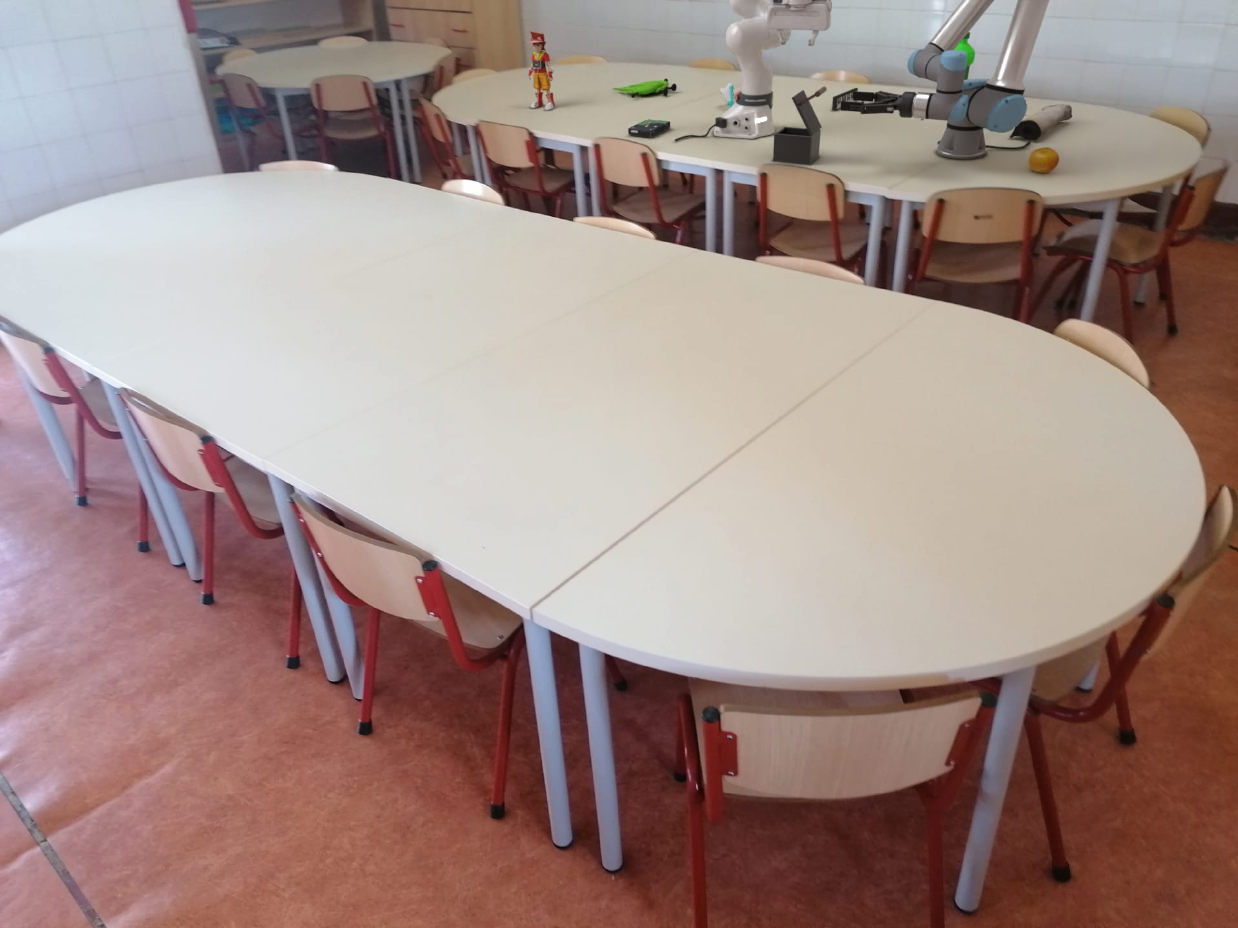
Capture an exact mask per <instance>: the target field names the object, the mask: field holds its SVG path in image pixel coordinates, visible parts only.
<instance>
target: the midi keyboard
mask: <svg viewBox="0 0 1238 928" xmlns="http://www.w3.org/2000/svg"><path fill="white" fill-rule="evenodd" d="M858 90H859V88H858V87H854V88H852V89H849V90H846V91H844V92H842V93H839V94H837V95H833V96H832V101H831V102H832V104H831V111H837V110H838V109H840V107H841V101H849V102H856V101H853V94H854V91H858Z"/></svg>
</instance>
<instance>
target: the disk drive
mask: <svg viewBox="0 0 1238 928" xmlns="http://www.w3.org/2000/svg"><path fill="white" fill-rule="evenodd" d="M670 128H671V121H669V120H661V119H650V118H649V119H645V120H642V121H641V122H638V123H637V124H635V125H632V126H630V127H628V128H627V135H628V136H633V137H641V138H653V137H655V136H658V135H660V134H661V133H663V132H665V131H667V130H669V129H670Z"/></svg>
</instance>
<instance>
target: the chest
mask: <svg viewBox="0 0 1238 928" xmlns="http://www.w3.org/2000/svg"><path fill="white" fill-rule="evenodd" d="M821 132H822V130H821V129H819V130H818V131H817V132H816V133H814V134H813V135H812V136H810V134H809V132H808V130H807V128H806V127H792V126H783V127H781V128H780V129H779V130H778V131H775V132H774V133H773V151H772V152H773V153H772V162H777V163H786V164H799V165H810V166H811V164H813V162H814V161H816V160H817V159H818V158H819V157H820V145H821V134H822V133H821Z"/></svg>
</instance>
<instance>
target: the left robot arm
mask: <svg viewBox="0 0 1238 928" xmlns="http://www.w3.org/2000/svg"><path fill="white" fill-rule="evenodd" d="M728 3H729V6H730V8H731V10H732V11H733V12H734V13H735V14H736V15H739V16H740V17H742V18H743V19H740V20H737V21H735V22H733V23H731V24H730V25H729V26H728V28H727V30H726V32H725V43H726V47H727V48H728V50H729V51H730V52H731V53H732V54H733V55H734V56H735V57H736V59H737V61H738V63H739V67H740V73H741V74H740V75H741V91H739V90H737V91H736V92H737V93H736V92H735V93H736V103H735V104H734V105H733V106H732V107H730V106H729V108H727V110H726V111H724V113H722V114H721V116H717V117H715V123H714V124H713V125H711V126H710V127H709V128H708V130H707V132H706V133H705V134H703V135H698V134H697V135H696V134H686V135H683V136H680V137H677V138H675V139H674V142H677V141H681V140H683V139H686V138H706V137H707V136H708V135H709V134H710V132H711V130H712V129H713V128H714V130H713V135H714V136H715V137H721V138H722V137H723V138H736V139H737V138H738V139H750V140H753V139H754V140H755V139H758V138H761V137H766V136H770V135H774V134H775V133H776V131H775V127H774V120H773V107H774V91H773V77H774V76H773V75H774V71H773V68H772V67H771V65H770V64H769V63H768V62H766V61H764V59H763V58H764V57H763V51H766V50H772V49H776V48H778V47H781V46H785V45H787V43H788V42H789V40H790V37H791V34H792V31H811V32H812V33H811V34H812V38H810V39H808V44H807V46H808V47H815V41H816V39H817V37H818V35H819V34H820V32H826V31H827V30H829V28H830V27H831V24H832V18H831V17H832V15H831V14H832V13H831V12H832V9H833V2H832V0H769V2H768V1H767V0H728Z"/></svg>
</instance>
